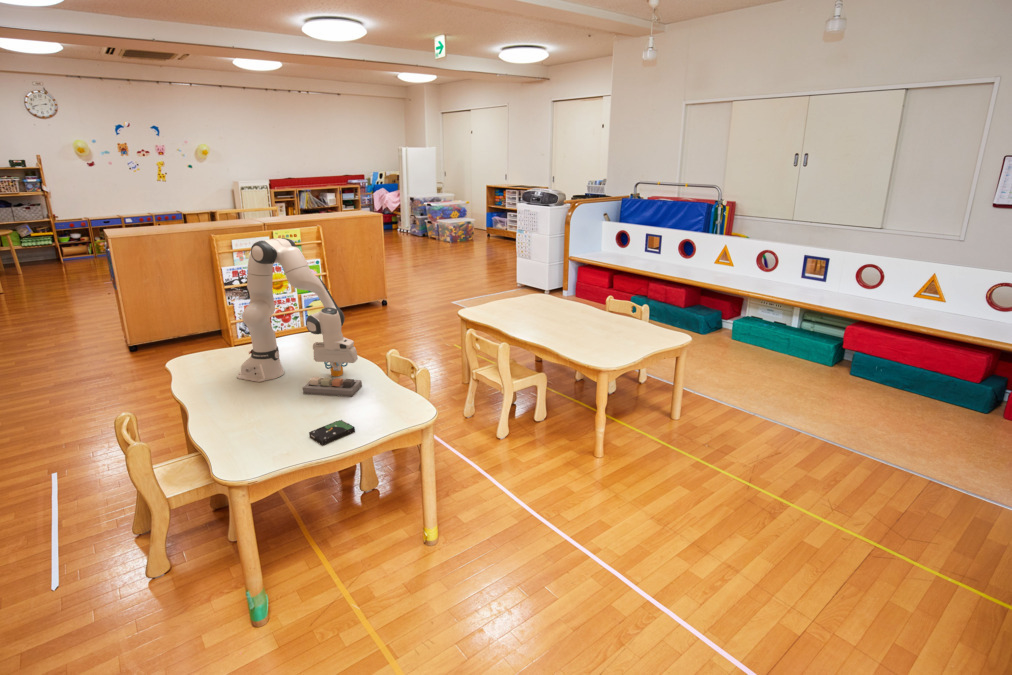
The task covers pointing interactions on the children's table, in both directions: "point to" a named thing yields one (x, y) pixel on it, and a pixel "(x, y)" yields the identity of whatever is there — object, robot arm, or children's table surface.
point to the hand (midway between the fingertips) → (337, 370)
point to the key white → (315, 381)
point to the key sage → (326, 381)
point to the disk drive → (331, 432)
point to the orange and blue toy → (335, 373)
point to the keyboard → (332, 389)
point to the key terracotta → (337, 382)
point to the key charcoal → (348, 383)
